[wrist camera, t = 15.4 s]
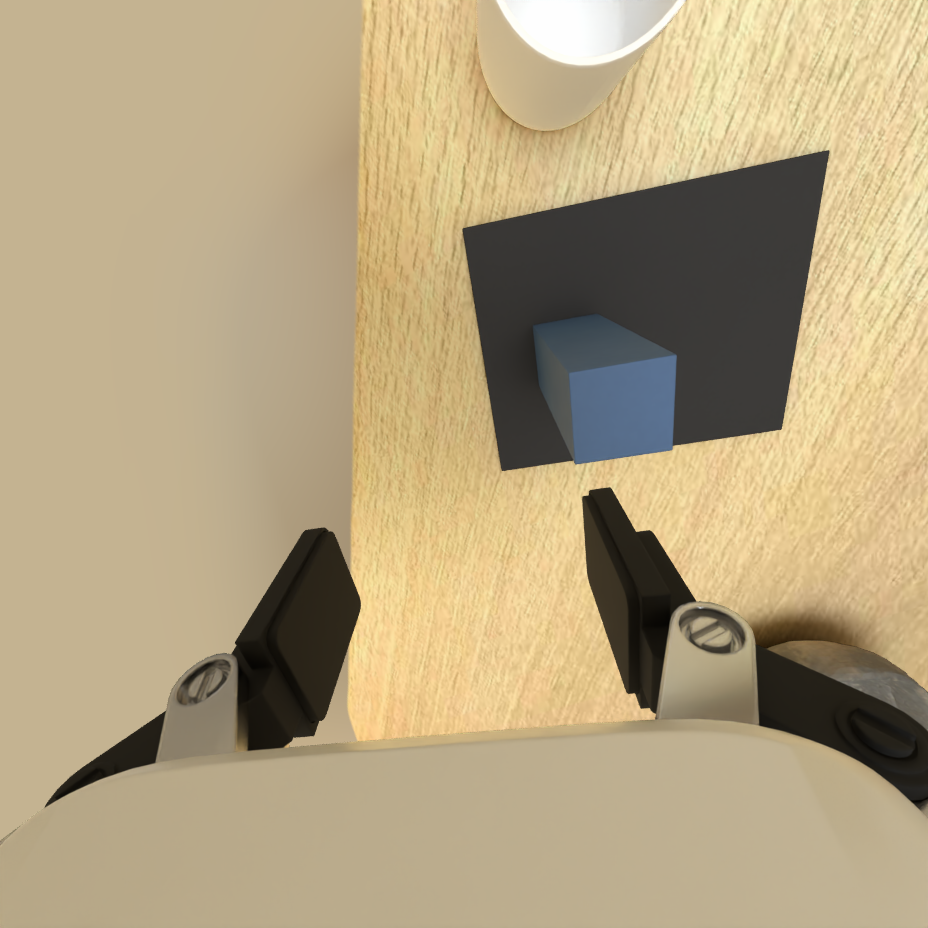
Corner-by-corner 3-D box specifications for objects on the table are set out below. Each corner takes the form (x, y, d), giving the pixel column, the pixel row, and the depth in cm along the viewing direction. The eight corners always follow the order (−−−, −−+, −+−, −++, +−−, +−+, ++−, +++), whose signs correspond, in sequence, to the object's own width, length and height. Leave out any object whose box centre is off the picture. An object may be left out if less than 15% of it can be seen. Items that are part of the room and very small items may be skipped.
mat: (501, 469, 35) (501, 471, 35) (462, 228, 27) (462, 228, 27) (778, 427, 33) (781, 429, 32) (825, 151, 25) (829, 149, 24)
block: (539, 386, 31) (575, 465, 20) (532, 325, 29) (568, 373, 18) (599, 376, 31) (672, 450, 19) (597, 313, 29) (677, 354, 17)
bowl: (674, 637, 44) (713, 712, 36) (861, 583, 40) (945, 656, 32) (710, 731, 51) (749, 810, 44) (872, 693, 47) (943, 773, 40)
